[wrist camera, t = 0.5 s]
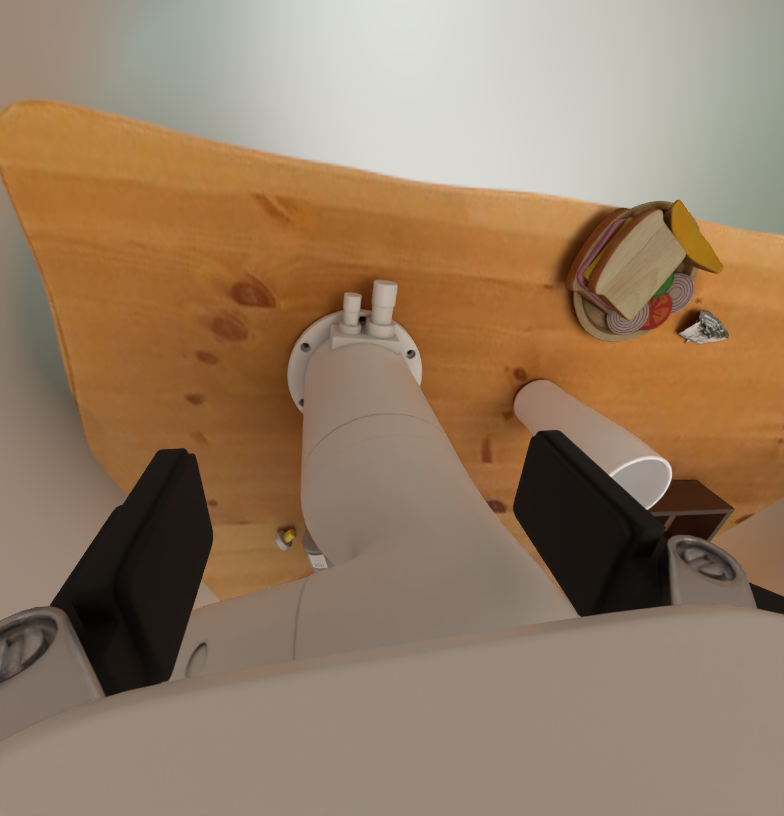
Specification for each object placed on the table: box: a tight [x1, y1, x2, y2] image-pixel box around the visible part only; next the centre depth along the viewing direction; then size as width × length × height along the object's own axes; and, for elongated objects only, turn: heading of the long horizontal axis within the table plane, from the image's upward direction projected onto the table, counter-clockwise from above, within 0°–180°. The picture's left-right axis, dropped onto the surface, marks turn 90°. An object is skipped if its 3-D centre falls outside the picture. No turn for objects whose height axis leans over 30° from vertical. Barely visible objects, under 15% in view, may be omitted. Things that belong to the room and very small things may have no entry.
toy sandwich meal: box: [565, 200, 723, 342], centre depth 34 cm, size 12×14×5 cm
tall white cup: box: [514, 380, 672, 510], centre depth 35 cm, size 7×7×15 cm
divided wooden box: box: [648, 480, 735, 542], centre depth 52 cm, size 10×19×6 cm, turn 82°
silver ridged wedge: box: [679, 311, 729, 344], centre depth 41 cm, size 6×2×3 cm
